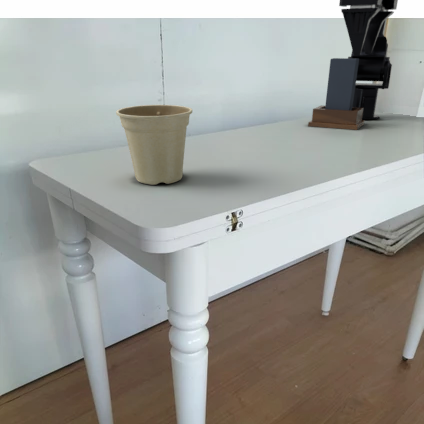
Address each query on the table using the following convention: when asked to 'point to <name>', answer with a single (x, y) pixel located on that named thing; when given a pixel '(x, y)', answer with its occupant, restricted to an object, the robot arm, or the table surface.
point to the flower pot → (156, 141)
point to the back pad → (341, 83)
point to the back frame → (337, 118)
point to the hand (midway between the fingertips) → (362, 54)
